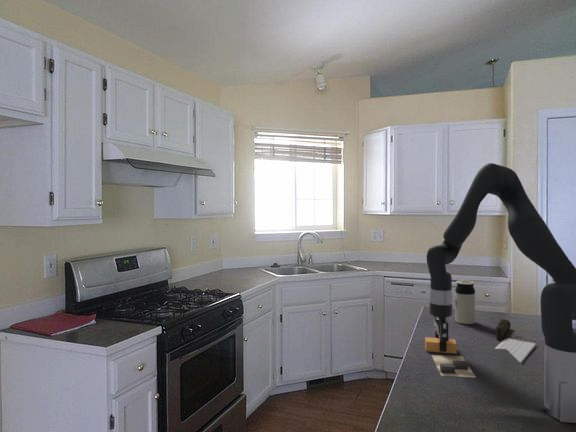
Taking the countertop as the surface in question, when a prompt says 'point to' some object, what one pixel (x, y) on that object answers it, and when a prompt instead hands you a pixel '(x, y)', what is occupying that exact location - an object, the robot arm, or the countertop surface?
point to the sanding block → (433, 345)
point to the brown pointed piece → (502, 328)
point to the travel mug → (465, 302)
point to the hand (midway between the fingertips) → (440, 346)
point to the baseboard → (517, 348)
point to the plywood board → (449, 360)
